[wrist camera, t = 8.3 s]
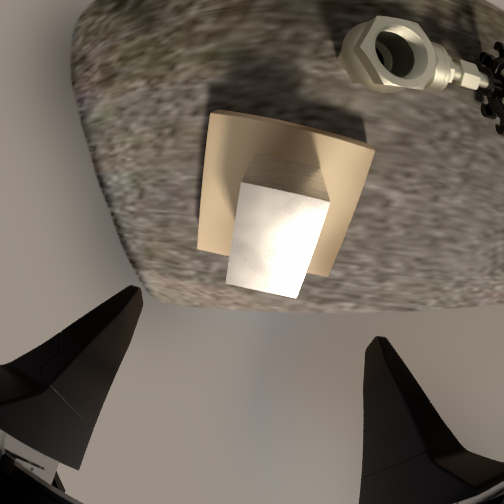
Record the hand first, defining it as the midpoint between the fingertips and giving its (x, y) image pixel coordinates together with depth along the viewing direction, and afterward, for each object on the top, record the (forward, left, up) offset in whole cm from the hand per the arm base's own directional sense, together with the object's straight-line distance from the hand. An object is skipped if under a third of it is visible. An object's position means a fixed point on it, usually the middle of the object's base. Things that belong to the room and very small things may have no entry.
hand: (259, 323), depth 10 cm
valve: (-7, -12, -12) cm, 18 cm away
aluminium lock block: (0, 0, -10) cm, 10 cm away
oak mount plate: (0, 0, -12) cm, 12 cm away
